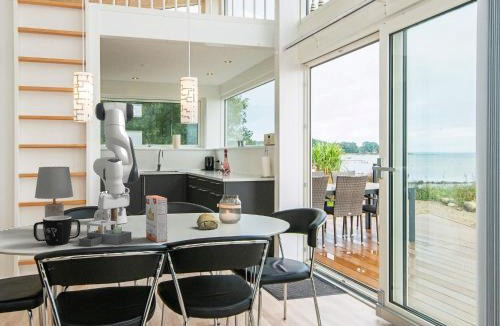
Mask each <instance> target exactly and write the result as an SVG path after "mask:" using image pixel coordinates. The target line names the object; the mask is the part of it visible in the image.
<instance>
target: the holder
mask: <svg viewBox="0 0 500 326" xmlns="http://www.w3.org/2000/svg"><path fill="white" fill-rule="evenodd" d="M101 244H103V243H102V237H96V236H88V237H87V236H85V237H80V238H79V239H78V246H83V247H95V246H98V245H101Z"/></svg>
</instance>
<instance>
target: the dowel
mask: <svg viewBox="0 0 500 326" xmlns="http://www.w3.org/2000/svg"><path fill="white" fill-rule="evenodd" d="M111 221H117V208H113V209H111ZM110 230H113V224H112V225H110Z"/></svg>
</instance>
